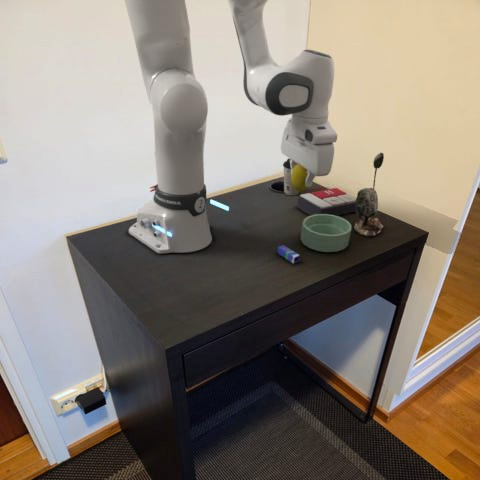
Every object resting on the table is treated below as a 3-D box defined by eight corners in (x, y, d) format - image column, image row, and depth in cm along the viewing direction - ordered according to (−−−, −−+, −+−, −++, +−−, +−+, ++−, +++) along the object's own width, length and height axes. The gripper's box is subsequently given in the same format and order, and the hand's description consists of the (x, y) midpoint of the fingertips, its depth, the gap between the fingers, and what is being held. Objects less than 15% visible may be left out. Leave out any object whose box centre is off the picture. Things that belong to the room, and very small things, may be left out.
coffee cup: (285, 197, 137) (288, 165, 131) (277, 189, 142) (279, 157, 136) (306, 195, 139) (310, 163, 133) (296, 187, 144) (300, 156, 138)
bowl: (292, 243, 114) (293, 225, 111) (315, 227, 122) (317, 210, 119) (334, 258, 109) (337, 240, 105) (355, 240, 116) (359, 223, 113)
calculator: (361, 199, 129) (322, 206, 122) (358, 213, 131) (319, 221, 124) (336, 186, 136) (298, 192, 129) (333, 199, 138) (295, 206, 132)
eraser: (293, 264, 106) (294, 257, 105) (277, 254, 110) (277, 246, 108) (299, 262, 107) (300, 254, 106) (283, 251, 111) (283, 244, 109)
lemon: (300, 197, 117) (304, 167, 112) (285, 191, 120) (288, 161, 115) (313, 192, 120) (318, 163, 115) (298, 186, 123) (302, 157, 118)
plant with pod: (340, 229, 121) (353, 155, 109) (368, 219, 126) (384, 148, 114) (361, 241, 116) (378, 165, 104) (391, 231, 121) (410, 157, 109)
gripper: (278, 116, 116) (273, 169, 124) (318, 139, 101) (310, 196, 110) (298, 115, 118) (292, 167, 126) (341, 137, 103) (331, 194, 112)
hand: (301, 181), depth 118 cm, fingers closed on lemon, 5 cm apart
